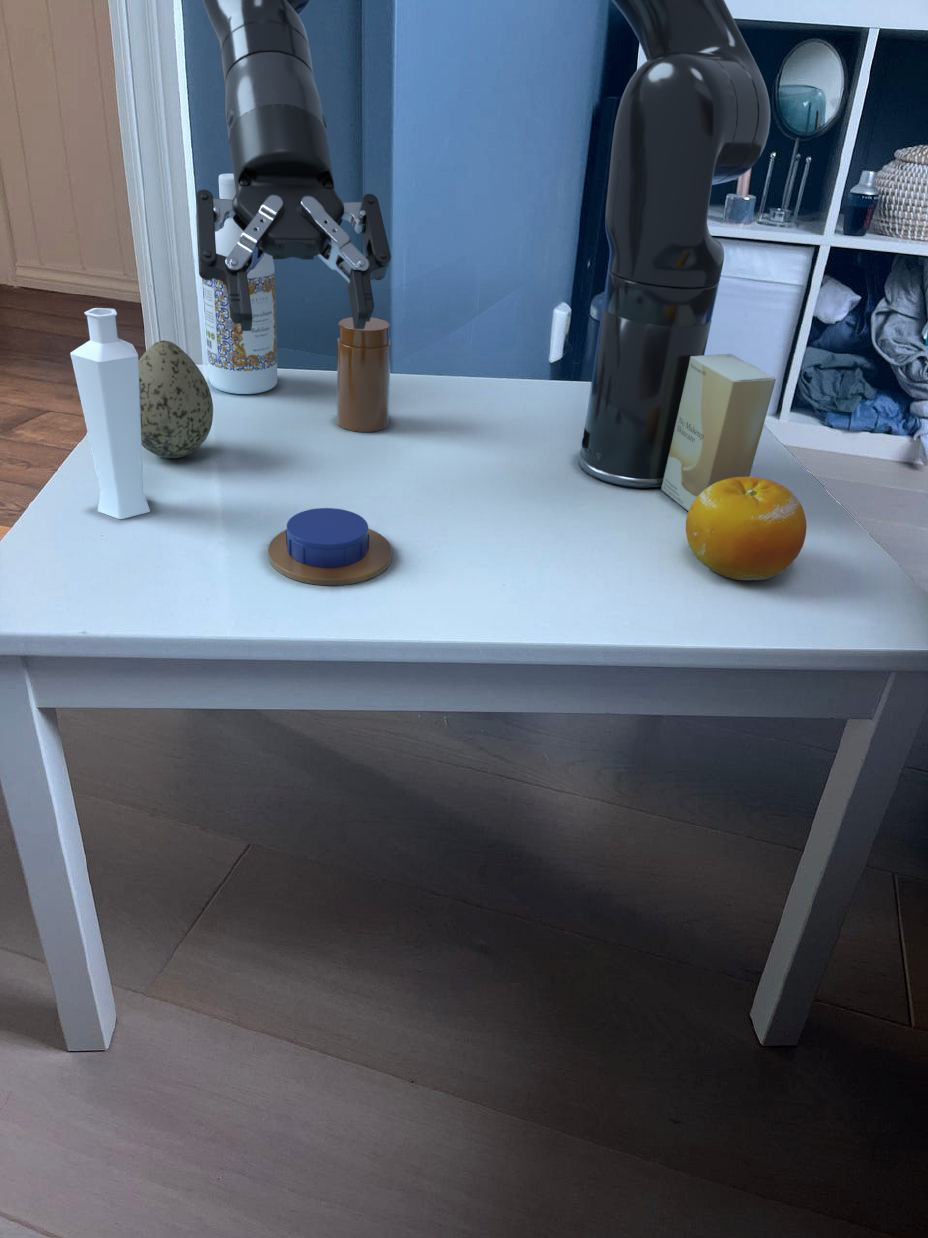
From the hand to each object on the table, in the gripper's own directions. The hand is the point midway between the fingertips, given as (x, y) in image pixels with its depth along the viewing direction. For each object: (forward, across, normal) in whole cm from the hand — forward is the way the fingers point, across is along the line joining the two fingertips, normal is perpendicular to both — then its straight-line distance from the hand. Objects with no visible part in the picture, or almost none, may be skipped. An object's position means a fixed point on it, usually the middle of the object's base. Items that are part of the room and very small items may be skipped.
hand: (304, 324), depth 72 cm
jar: (-1, -8, -21) cm, 22 cm away
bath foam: (-10, +2, -29) cm, 31 cm away
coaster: (+17, 0, -2) cm, 17 cm away
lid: (+16, 0, -1) cm, 16 cm away
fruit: (+22, -30, +2) cm, 37 cm away
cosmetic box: (+15, -33, -5) cm, 36 cm away
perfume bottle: (+10, +14, -10) cm, 20 cm away
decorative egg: (+3, +10, -17) cm, 20 cm away
